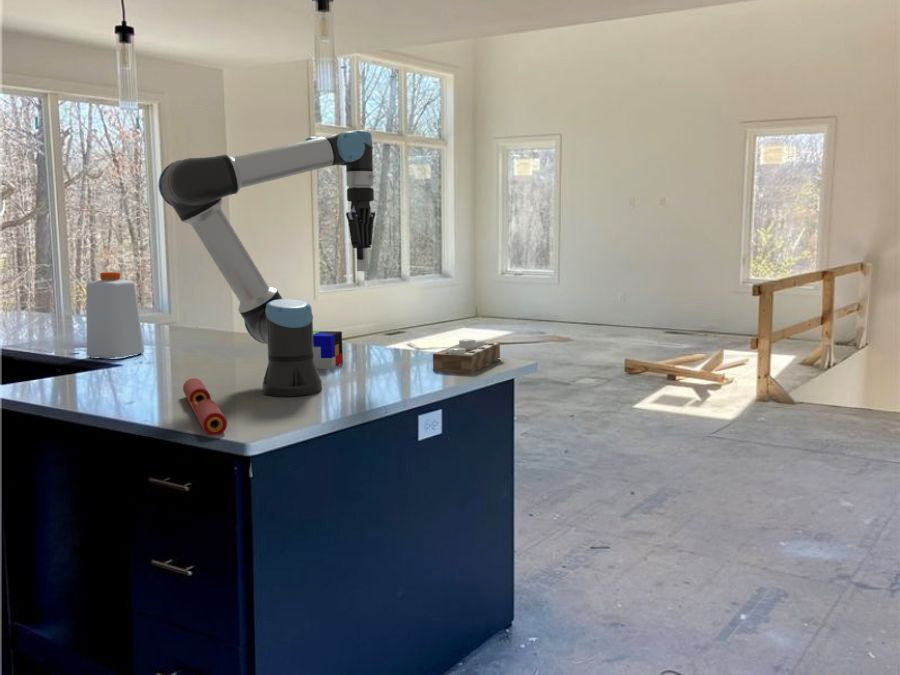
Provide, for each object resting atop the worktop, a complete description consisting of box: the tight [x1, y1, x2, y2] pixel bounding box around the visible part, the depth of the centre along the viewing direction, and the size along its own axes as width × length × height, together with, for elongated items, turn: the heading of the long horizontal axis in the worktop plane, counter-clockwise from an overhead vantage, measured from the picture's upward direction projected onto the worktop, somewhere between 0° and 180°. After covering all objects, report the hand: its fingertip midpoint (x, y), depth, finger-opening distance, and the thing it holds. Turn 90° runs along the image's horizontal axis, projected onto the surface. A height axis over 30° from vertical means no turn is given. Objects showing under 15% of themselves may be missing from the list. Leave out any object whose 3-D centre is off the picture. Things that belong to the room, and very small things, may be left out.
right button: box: [475, 339, 486, 347], centre depth 254 cm, size 5×5×4 cm
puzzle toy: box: [313, 330, 344, 370], centre depth 249 cm, size 10×10×10 cm
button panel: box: [432, 342, 501, 374], centre depth 247 cm, size 24×12×6 cm, turn 157°
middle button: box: [458, 338, 477, 351], centre depth 247 cm, size 5×5×4 cm
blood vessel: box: [182, 377, 228, 436], centre depth 190 cm, size 42×5×5 cm, turn 23°
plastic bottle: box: [85, 271, 145, 358], centre depth 272 cm, size 15×15×28 cm
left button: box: [449, 348, 466, 355], centre depth 239 cm, size 5×5×4 cm
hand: (362, 270), depth 234 cm, fingers closed
